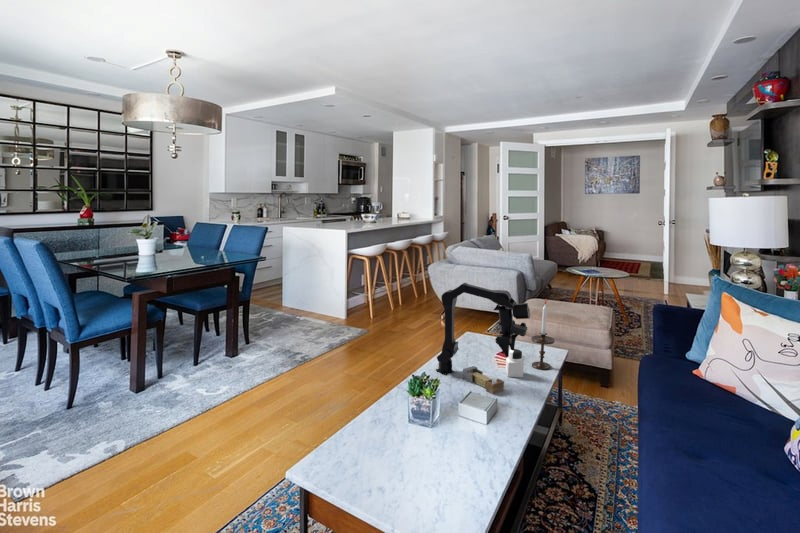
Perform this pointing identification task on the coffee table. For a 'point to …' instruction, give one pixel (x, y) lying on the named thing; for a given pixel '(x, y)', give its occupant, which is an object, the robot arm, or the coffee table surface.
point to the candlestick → (542, 343)
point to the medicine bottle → (514, 364)
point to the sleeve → (468, 375)
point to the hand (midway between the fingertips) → (510, 353)
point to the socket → (495, 386)
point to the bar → (480, 378)
